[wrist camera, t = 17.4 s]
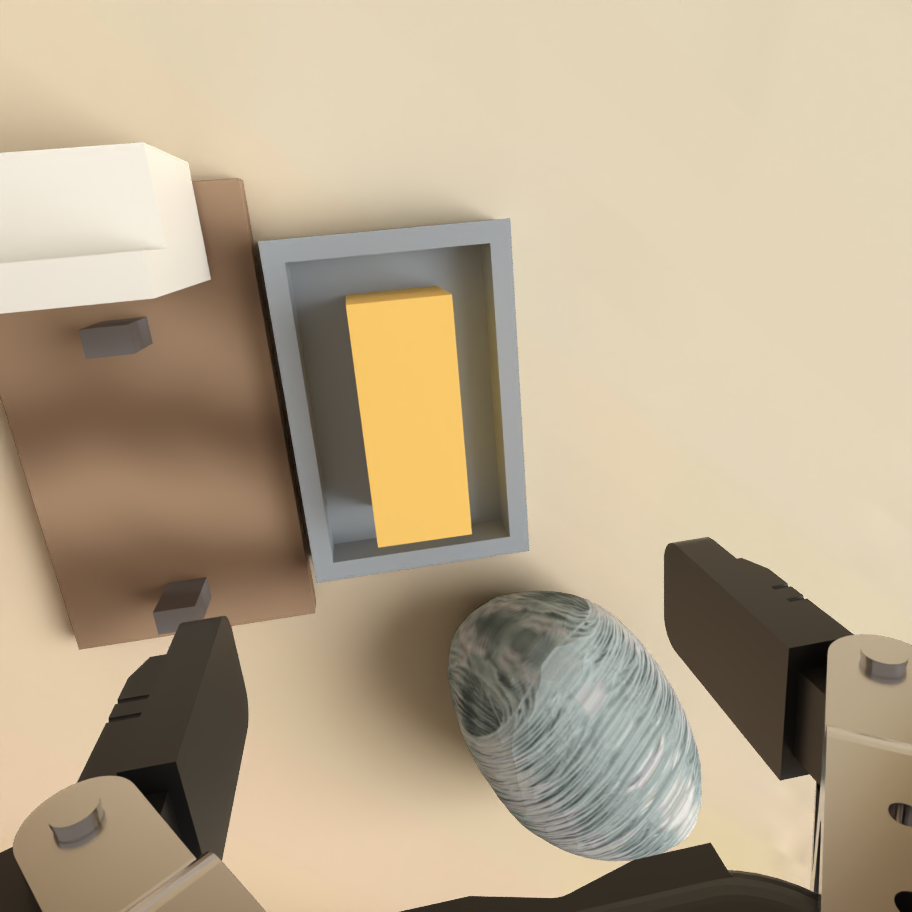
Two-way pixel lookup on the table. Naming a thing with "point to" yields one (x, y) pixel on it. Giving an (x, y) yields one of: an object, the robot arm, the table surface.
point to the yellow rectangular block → (410, 413)
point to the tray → (336, 399)
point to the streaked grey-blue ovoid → (575, 726)
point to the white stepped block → (96, 227)
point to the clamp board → (162, 448)
